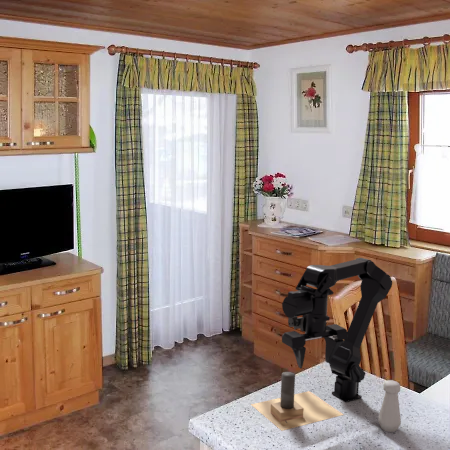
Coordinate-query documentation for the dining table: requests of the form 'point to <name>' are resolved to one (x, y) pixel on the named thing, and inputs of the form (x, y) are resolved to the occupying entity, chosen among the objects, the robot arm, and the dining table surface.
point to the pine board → (312, 411)
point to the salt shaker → (390, 407)
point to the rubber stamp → (287, 400)
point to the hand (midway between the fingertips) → (313, 365)
